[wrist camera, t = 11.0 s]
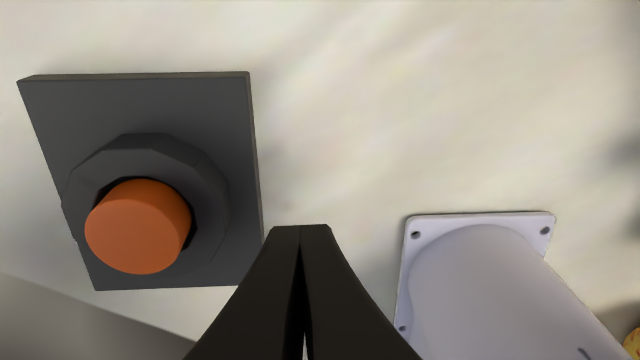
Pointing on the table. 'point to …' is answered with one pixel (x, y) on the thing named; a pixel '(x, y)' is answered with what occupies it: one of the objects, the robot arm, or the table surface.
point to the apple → (633, 344)
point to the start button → (139, 226)
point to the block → (156, 162)
